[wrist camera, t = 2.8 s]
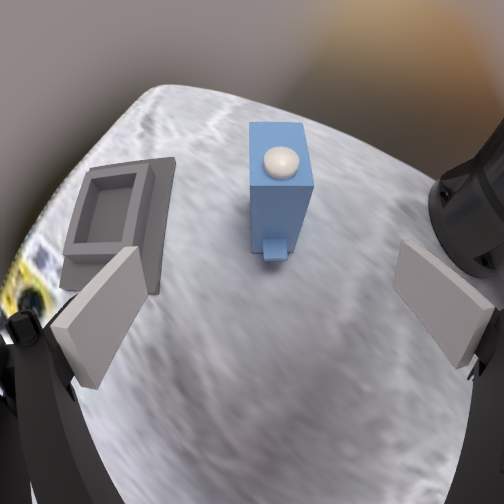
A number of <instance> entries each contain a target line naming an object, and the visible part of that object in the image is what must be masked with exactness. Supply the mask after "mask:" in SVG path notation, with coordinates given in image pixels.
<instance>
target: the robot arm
mask: <svg viewBox="0 0 504 504" xmlns="http://www.w3.org/2000/svg"><path fill="white" fill-rule="evenodd" d="M429 210H430V216H431V220H432V223H433V227H434V229H435V232H436V234H437V236H438V238H439V240H440V242H441V244H442V246H443V247H444V249H445V251H446V252H447V254H448V255H449V256H450V257H451V259H452V260H453V261H454V262H455V263H456V264H457V265H458V266H459V267H460V268H461V269H462V270H464V271H465V272H467V273H468V274H470V275H472V276H475V277H478V278H487V277H490V276H492V275H494V274H496V273H497V272H499V271H501V270H502V269H503V268H504V118H503V120H502V121H501V123H500V124H499V125H498V127H497V128H496V130H495V131H494V132H493V133H492V135H491V136H490V137H489V139H488V140H487V141H486V143H485V144H484V145H483V146H482V148H481V149H480V150H479V152H478V153H477V154H476V155H475V156H474V157H473V158H471V159H470V160H467V161H466V162H464V163H462V164H460V165H458V166H456V167H454V168H452V169H450V170H448V171H446V172H445V173H444V174H442V175H441V177H440V178H439V179H438V180H437V182H436V183H435V184H434V185H433V187H432V189H431V192H430V196H429ZM392 288H393V289H394V290H395V291H396V292H397V294H398V295H399V296H400V297H401V298H402V300H403V301H404V302H405V303H406V304H407V306H408V307H409V308H410V309H411V311H412V312H413V313H414V314H415V316H416V317H417V318H418V319H419V321H420V322H421V323H422V325H423V326H424V327H425V328H426V330H427V331H428V332H429V334H430V335H431V336H432V338H433V339H434V340H435V342H436V343H437V344H438V346H439V347H440V348H441V350H442V351H443V352H444V354H445V355H446V357H447V358H448V359H449V361H450V362H451V364H452V365H453V367H454V368H455V369H458V368H461V367H464V366H467V365H468V364H469V363H470V361H471V359H472V357H473V355H474V353H475V354H476V355H477V357H478V360H477V361H476V363H475V365H474V367H473V369H472V370H471V372H470V374H469V376H468V378H467V380H469V379H470V378H471V376H472V375H474V378H473V380H472V381H473V390H472V398H471V405H470V412H469V418H468V423H467V428H466V433H465V438H464V442H463V446H462V450H461V454H460V458H459V462H458V465H457V468H456V472H455V475H454V478H453V481H452V484H451V487H450V490H449V492H448V495H447V498H446V500H445V503H444V504H504V309H502V310H501V311H499V310H498V309H497V308H495V306H494V305H493V304H492V303H491V302H489V301H488V300H487V299H486V298H485V297H484V296H483V295H482V294H480V293H479V292H478V291H477V290H476V289H475V288H474V287H472V286H471V285H470V284H469V283H468V282H467V281H465V280H464V279H463V278H462V277H461V276H459V275H458V274H457V273H456V272H454V271H453V270H452V269H451V268H449V267H448V266H447V265H446V264H444V263H443V262H442V261H440V260H439V259H438V258H437V257H435V256H434V255H433V254H431V253H430V252H429V251H427V250H426V249H425V248H423V247H422V246H421V245H419V244H418V243H417V242H415V241H414V240H401V246H400V252H399V258H398V263H397V268H396V273H395V278H394V283H393V287H392ZM147 296H148V293H147V288H146V284H145V279H144V274H143V269H142V264H141V258H140V253H139V247H138V246H132V247H124V248H123V249H122V250H121V251H120V252H119V253H118V254H117V255H116V256H115V257H114V258H113V259H112V260H111V261H110V262H109V263H108V264H107V265H106V266H105V267H104V268H103V269H102V270H101V271H100V272H99V273H98V274H97V275H96V276H95V277H94V278H93V279H92V280H91V281H90V282H89V283H88V284H87V285H86V286H85V287H84V288H83V289H82V290H81V292H80V293H78V294H77V295H75V296H73V297H72V298H70V299H69V300H68V301H67V302H66V303H65V304H64V305H63V308H61V309H60V310H59V311H58V313H56V314H55V315H54V317H53V318H52V319H51V320H50V321H49V322H48V323H47V325H46V326H45V327H44V328H43V329H42V327H41V324H40V322H39V320H38V317H37V315H36V313H35V311H34V310H32V309H25V310H21V311H19V312H16V313H15V314H13V315H12V316H10V317H9V319H8V320H7V321H6V324H5V327H6V329H7V331H8V333H9V335H10V337H11V339H12V341H13V343H14V344H8V345H6V343H5V341H4V339H3V337H2V335H1V334H0V387H1V388H2V390H3V391H4V392H3V396H1V395H0V504H32V497H31V486H30V481H31V484H32V488H33V491H34V494H35V497H36V500H37V503H38V504H125V503H124V501H123V500H122V498H121V496H120V495H119V493H118V491H117V489H116V487H115V486H114V484H113V482H112V480H111V478H110V476H109V474H108V472H107V470H106V468H105V466H104V464H103V462H102V460H101V458H100V456H99V454H98V451H97V449H96V447H95V445H94V442H93V440H92V438H91V435H90V433H89V430H88V428H87V425H86V422H85V420H84V417H83V414H82V411H81V408H80V405H79V402H78V399H77V396H76V393H75V390H74V388H73V386H72V384H71V383H70V382H71V380H72V378H73V377H74V375H75V377H76V379H77V381H78V382H79V384H80V386H82V387H86V388H90V389H95V390H98V388H99V386H100V384H101V382H102V380H103V378H104V376H105V374H106V372H107V370H108V368H109V366H110V364H111V362H112V360H113V358H114V356H115V354H116V352H117V350H118V348H119V347H120V345H121V343H122V341H123V339H124V337H125V335H126V334H127V332H128V330H129V328H130V326H131V324H132V323H133V321H134V319H135V317H136V316H137V314H138V312H139V310H140V309H141V307H142V305H143V303H144V302H145V300H146V298H147Z"/></svg>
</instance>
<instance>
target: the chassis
mask: <svg viewBox="0 0 504 504" xmlns="http://www.w3.org/2000/svg"><path fill="white" fill-rule="evenodd" d="M175 164H176V161H175V158H174V157H167V158H157V159H148V160H140V161H132V162H125V163H118V164H111V165H105V166H99V167H93V168H90V170H89V172H86V174H85V177H84V180H83V183H82V186H81V189H80V192H79V195H78V198H77V201H76V204H75V208H74V211H73V214H72V218H71V222H70V225H69V229H68V233H67V237H66V241H65V246H64V250H63V255H64V256H65V258H64V263H63V268H62V274H61V279H60V286H59V288H61V289H63V290H74V291H81V290H82V289H83V288H84V287H85V286H86V285H87V284H88V283H89V282H90V281H91V280H92V279H93V278H94V277H95V276H96V275H97V274H98V273H99V272H100V271H101V270H102V269H103V268H104V267H105V266H106V265H107V264H108V263H109V262H110V261H111V260H112V259H113V258H114V257H115V256H116V255H117V254H118V253H119V252H120V251H121V250H122V249H123V248H124V247H132V246H138V247H139V253H140V258H141V264H142V269H143V274H144V279H145V284H146V288H147V293H148V294H159V282H160V271H161V261H162V252H163V243H164V235H165V227H166V220H167V213H168V206H169V199H170V193H171V187H172V181H173V175H174V170H175Z"/></svg>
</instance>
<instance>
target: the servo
mask: <svg viewBox="0 0 504 504" xmlns="http://www.w3.org/2000/svg"><path fill="white" fill-rule="evenodd" d="M249 148H250V205H251V239H252V253H263V258H264V261H287V259H288V256H287V252H293V251H294V248H295V245H296V242H297V239H298V236H299V233H300V230H301V227H302V224H303V221H304V217H305V214H306V211H307V208H308V205H309V201H310V198H311V195H312V192H313V188H314V181H313V175H312V169H311V164H310V158H309V153H308V147H307V142H306V137H305V132H304V127H303V123H293V122H249Z"/></svg>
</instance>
